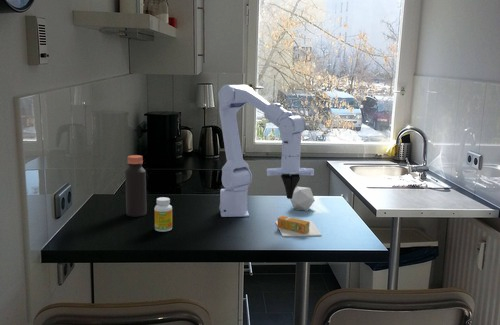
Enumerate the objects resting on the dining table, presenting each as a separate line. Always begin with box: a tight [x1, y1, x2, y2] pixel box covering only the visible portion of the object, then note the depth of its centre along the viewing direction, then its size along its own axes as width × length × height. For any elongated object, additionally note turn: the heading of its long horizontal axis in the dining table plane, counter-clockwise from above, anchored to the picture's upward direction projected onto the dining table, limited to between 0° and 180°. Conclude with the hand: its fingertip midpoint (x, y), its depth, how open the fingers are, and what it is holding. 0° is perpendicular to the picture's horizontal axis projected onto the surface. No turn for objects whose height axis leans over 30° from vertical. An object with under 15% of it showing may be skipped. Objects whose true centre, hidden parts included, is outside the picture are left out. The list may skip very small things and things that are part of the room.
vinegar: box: [124, 154, 148, 218], centre depth 167 cm, size 7×7×20 cm
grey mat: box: [275, 219, 323, 238], centre depth 157 cm, size 12×14×1 cm
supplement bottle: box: [153, 196, 173, 233], centre depth 153 cm, size 5×5×10 cm
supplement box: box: [277, 215, 310, 234], centre depth 154 cm, size 3×3×10 cm
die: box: [289, 186, 315, 212], centre depth 178 cm, size 8×9×10 cm
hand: (289, 197), depth 155 cm, fingers closed
